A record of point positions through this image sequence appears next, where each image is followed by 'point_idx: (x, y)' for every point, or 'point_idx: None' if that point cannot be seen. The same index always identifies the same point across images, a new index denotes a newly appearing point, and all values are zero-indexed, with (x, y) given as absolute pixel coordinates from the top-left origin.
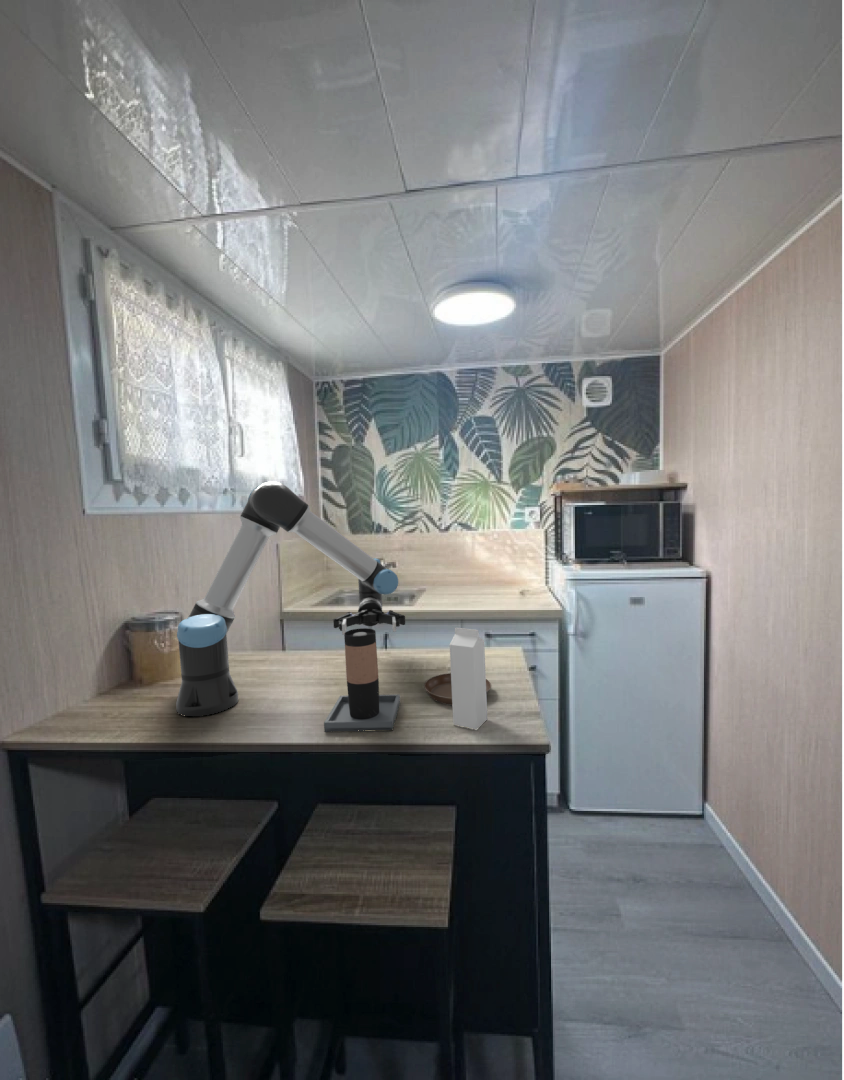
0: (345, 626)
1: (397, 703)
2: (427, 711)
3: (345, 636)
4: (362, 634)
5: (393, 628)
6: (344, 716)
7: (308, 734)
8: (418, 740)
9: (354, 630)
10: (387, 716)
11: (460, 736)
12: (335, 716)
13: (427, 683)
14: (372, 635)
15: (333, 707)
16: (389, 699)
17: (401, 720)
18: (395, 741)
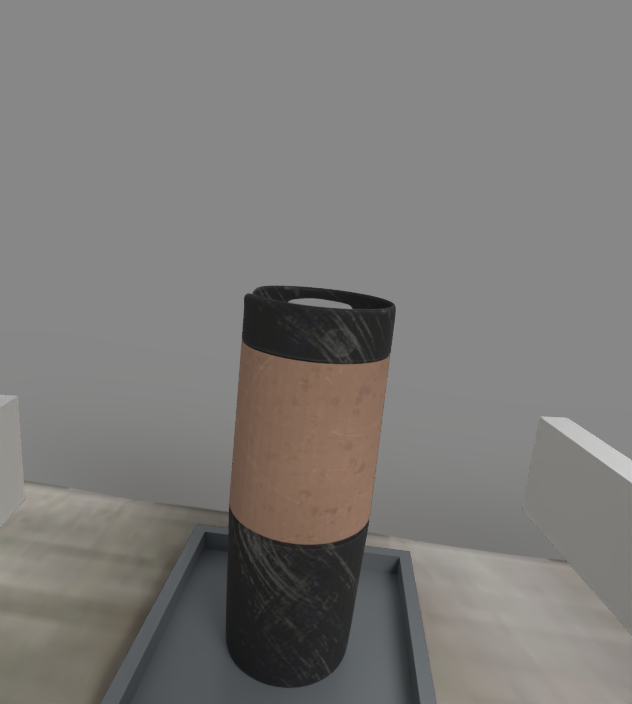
0: (585, 504)
1: (139, 633)
2: (12, 642)
3: (379, 304)
4: (306, 298)
5: (18, 465)
6: (364, 625)
7: (450, 575)
8: (138, 508)
9: (360, 315)
10: (198, 597)
11: (22, 504)
12: (400, 631)
13: None
14: (260, 293)
15: (423, 640)
16: None
17: (148, 598)
18: (198, 514)
